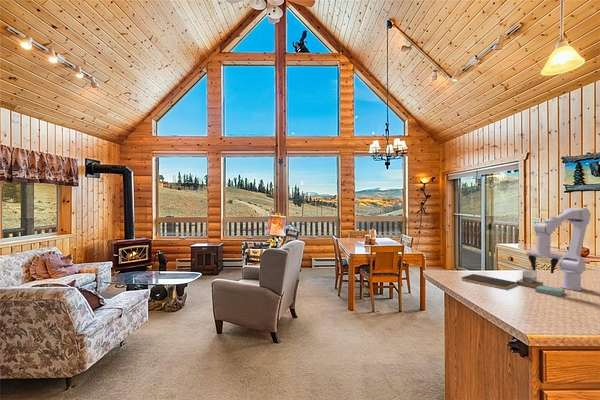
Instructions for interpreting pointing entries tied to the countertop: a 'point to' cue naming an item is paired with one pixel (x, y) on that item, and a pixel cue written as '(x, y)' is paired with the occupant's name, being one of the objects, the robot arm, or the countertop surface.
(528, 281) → the block
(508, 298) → the countertop surface
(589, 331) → the countertop surface
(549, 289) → the stand
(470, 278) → the hardcover book
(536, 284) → the stand
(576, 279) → the robot arm
